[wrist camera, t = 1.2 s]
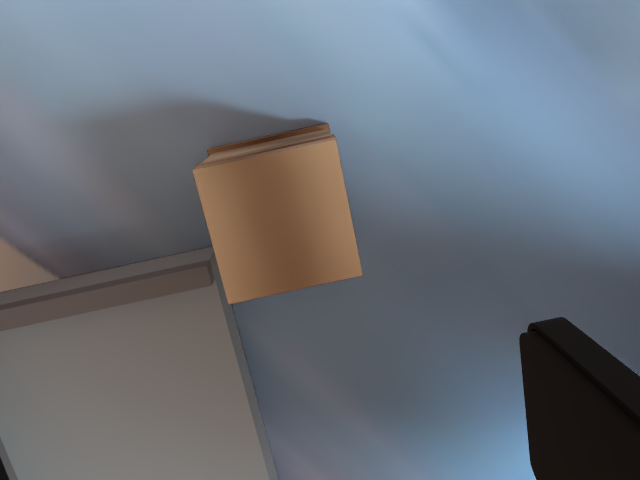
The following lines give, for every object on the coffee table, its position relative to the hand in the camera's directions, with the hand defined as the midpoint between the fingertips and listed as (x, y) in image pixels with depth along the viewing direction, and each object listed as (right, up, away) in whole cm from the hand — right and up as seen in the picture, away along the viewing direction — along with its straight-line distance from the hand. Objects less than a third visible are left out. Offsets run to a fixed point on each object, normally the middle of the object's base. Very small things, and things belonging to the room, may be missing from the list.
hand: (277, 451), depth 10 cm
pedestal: (-1, +6, +19) cm, 20 cm away
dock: (-10, -6, +22) cm, 25 cm away
